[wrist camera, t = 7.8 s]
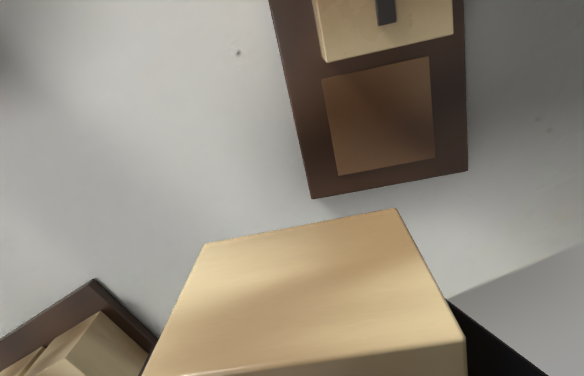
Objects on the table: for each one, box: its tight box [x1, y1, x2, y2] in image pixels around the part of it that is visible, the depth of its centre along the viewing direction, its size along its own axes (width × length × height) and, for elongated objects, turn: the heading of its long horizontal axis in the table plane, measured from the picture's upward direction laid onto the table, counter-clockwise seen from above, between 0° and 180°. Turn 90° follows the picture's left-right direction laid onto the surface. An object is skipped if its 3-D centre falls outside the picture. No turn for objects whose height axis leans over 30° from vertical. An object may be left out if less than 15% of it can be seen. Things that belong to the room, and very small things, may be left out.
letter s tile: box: [142, 208, 468, 376], centre depth 7 cm, size 4×4×4 cm
